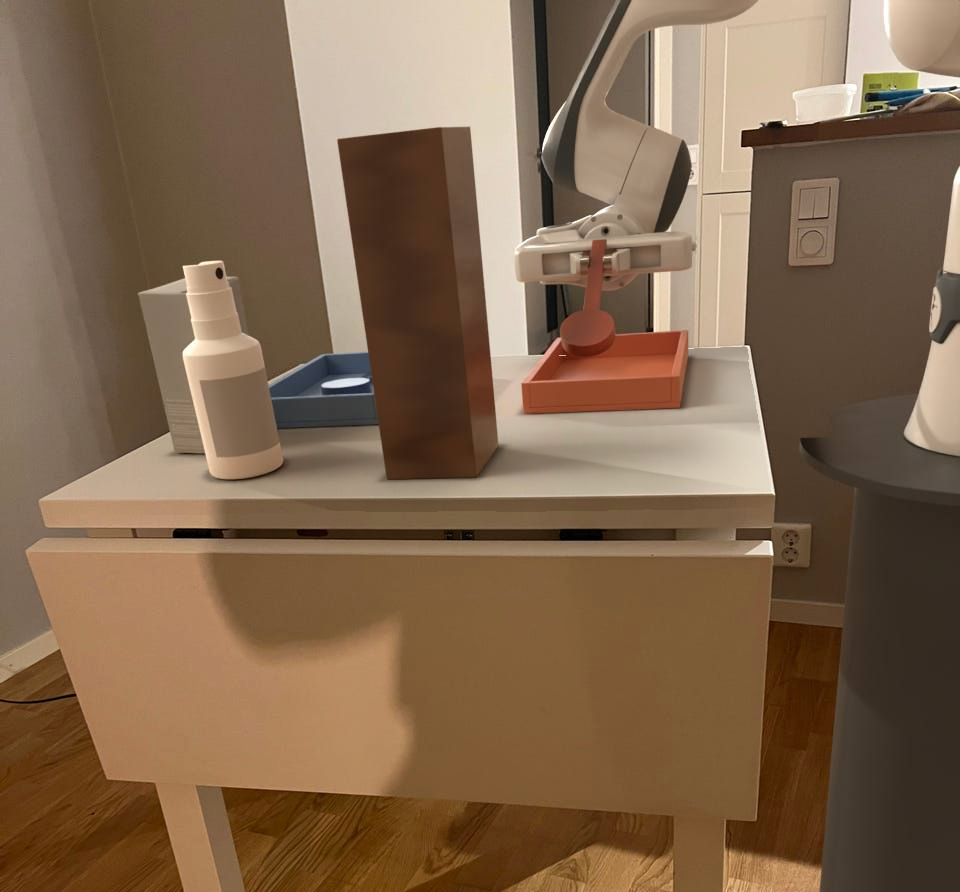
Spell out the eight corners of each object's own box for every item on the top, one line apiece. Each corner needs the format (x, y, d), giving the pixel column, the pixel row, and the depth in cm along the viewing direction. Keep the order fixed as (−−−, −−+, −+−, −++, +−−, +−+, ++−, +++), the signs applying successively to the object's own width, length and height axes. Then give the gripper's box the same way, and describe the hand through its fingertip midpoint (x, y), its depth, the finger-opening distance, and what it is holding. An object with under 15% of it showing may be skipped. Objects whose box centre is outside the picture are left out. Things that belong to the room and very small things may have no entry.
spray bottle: (250, 483, 85) (204, 268, 76) (194, 478, 88) (144, 270, 80) (298, 460, 90) (260, 256, 82) (244, 456, 93) (201, 259, 85)
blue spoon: (408, 369, 122) (407, 357, 121) (362, 400, 106) (360, 386, 106) (367, 372, 123) (366, 360, 123) (315, 402, 108) (313, 388, 107)
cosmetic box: (216, 431, 103) (181, 276, 96) (274, 431, 100) (242, 272, 93) (170, 455, 96) (128, 289, 89) (230, 455, 94) (192, 285, 86)
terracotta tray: (688, 356, 113) (688, 329, 112) (679, 407, 93) (679, 375, 92) (558, 363, 117) (557, 337, 116) (523, 414, 97) (521, 383, 96)
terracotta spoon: (625, 243, 106) (624, 231, 105) (613, 356, 97) (612, 344, 96) (575, 247, 107) (573, 235, 106) (558, 358, 98) (557, 347, 97)
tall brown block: (498, 446, 88) (470, 126, 76) (476, 477, 80) (441, 126, 68) (415, 448, 89) (375, 137, 78) (386, 479, 82) (336, 138, 70)
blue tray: (442, 372, 119) (439, 347, 118) (383, 424, 99) (379, 394, 97) (325, 378, 123) (321, 354, 121) (246, 429, 103) (240, 400, 101)
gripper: (697, 272, 114) (693, 289, 102) (529, 283, 119) (507, 302, 107) (697, 214, 111) (694, 226, 100) (525, 229, 116) (502, 242, 104)
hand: (595, 265), depth 103 cm, fingers closed on terracotta spoon, 2 cm apart
